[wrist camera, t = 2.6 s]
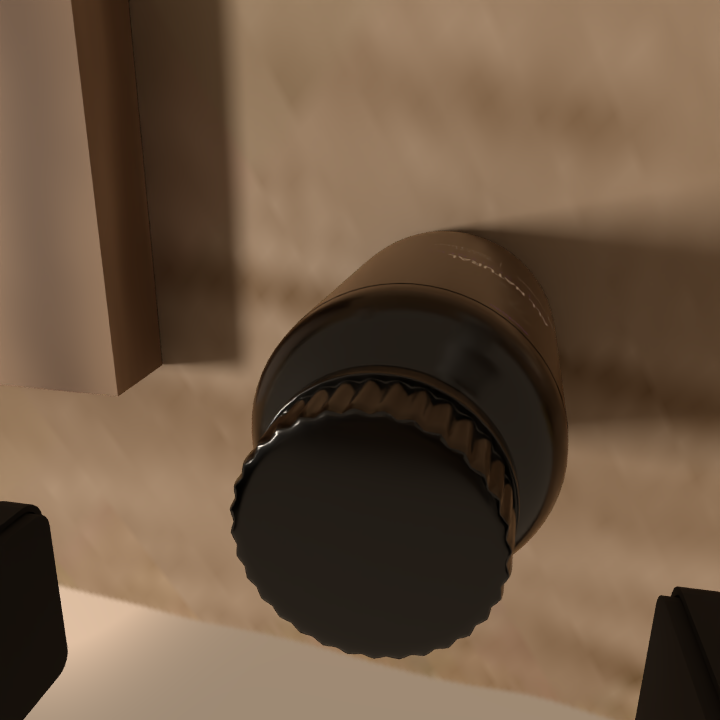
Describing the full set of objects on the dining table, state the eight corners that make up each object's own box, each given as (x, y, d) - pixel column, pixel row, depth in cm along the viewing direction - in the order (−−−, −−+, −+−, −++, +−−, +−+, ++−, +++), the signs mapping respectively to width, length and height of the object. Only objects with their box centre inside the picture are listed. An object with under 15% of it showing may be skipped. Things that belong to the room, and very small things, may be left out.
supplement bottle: (561, 226, 20) (614, 360, 9) (546, 435, 23) (574, 742, 12) (336, 223, 22) (149, 338, 11) (343, 421, 24) (195, 683, 13)
